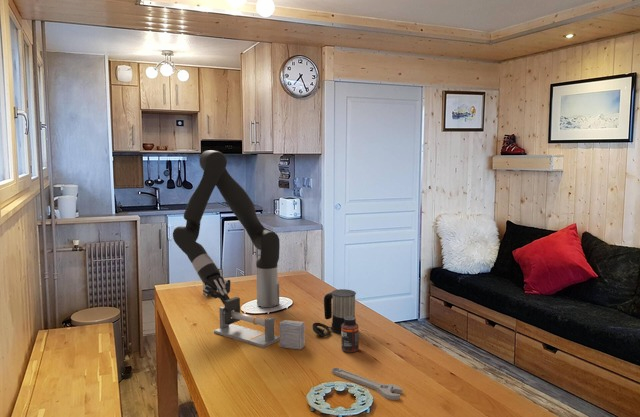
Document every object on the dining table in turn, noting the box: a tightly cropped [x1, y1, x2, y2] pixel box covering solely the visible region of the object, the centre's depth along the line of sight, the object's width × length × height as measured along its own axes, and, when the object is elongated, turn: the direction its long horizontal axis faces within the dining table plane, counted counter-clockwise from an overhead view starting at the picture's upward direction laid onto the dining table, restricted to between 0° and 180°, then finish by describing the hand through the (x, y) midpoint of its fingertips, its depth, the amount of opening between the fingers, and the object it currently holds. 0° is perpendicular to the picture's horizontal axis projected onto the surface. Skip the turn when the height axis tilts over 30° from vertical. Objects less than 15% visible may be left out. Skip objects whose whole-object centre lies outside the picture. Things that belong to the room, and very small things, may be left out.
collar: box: [223, 296, 241, 325], centre depth 192 cm, size 2×6×9 cm, turn 144°
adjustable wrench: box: [331, 367, 403, 401], centre depth 151 cm, size 25×6×2 cm, turn 43°
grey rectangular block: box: [202, 268, 224, 297], centre depth 246 cm, size 14×5×10 cm, turn 154°
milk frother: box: [311, 288, 357, 337], centre depth 192 cm, size 14×16×15 cm
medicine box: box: [279, 319, 306, 351], centre depth 178 cm, size 8×4×9 cm, turn 71°
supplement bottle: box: [340, 316, 360, 353], centre depth 175 cm, size 6×6×11 cm
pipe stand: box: [213, 305, 280, 349], centre depth 188 cm, size 25×9×9 cm, turn 54°
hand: (228, 304), depth 192 cm, fingers closed
